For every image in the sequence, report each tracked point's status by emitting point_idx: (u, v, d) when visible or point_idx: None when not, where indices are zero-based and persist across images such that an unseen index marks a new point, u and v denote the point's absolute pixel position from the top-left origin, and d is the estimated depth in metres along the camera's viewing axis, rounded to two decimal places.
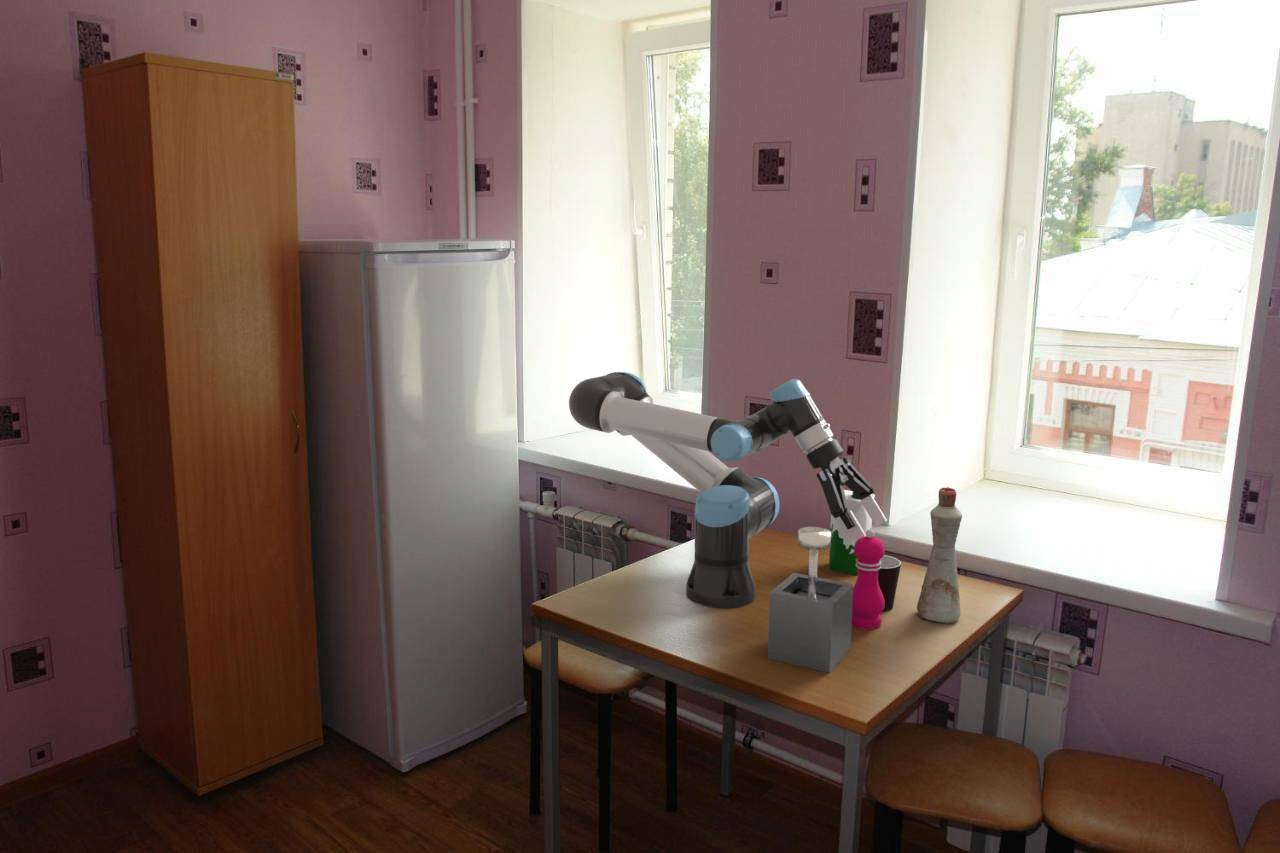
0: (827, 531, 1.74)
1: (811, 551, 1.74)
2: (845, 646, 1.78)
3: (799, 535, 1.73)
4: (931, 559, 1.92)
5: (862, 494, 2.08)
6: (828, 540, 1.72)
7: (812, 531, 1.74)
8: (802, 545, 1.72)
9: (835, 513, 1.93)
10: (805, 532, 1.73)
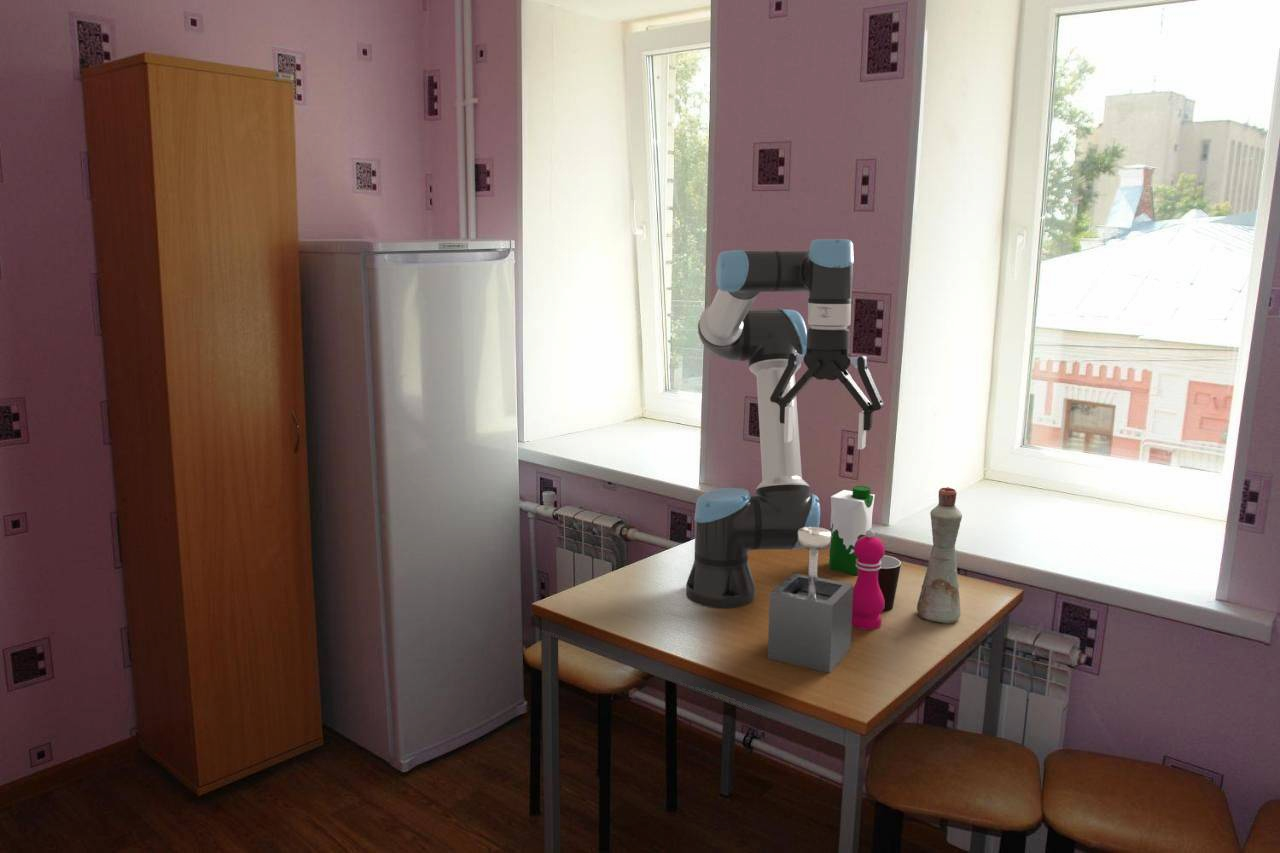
0: (827, 531, 1.74)
1: (811, 551, 1.74)
2: (845, 646, 1.78)
3: (799, 535, 1.73)
4: (931, 559, 1.92)
5: None
6: (828, 540, 1.72)
7: (812, 531, 1.74)
8: (802, 545, 1.72)
9: None
10: (805, 532, 1.73)
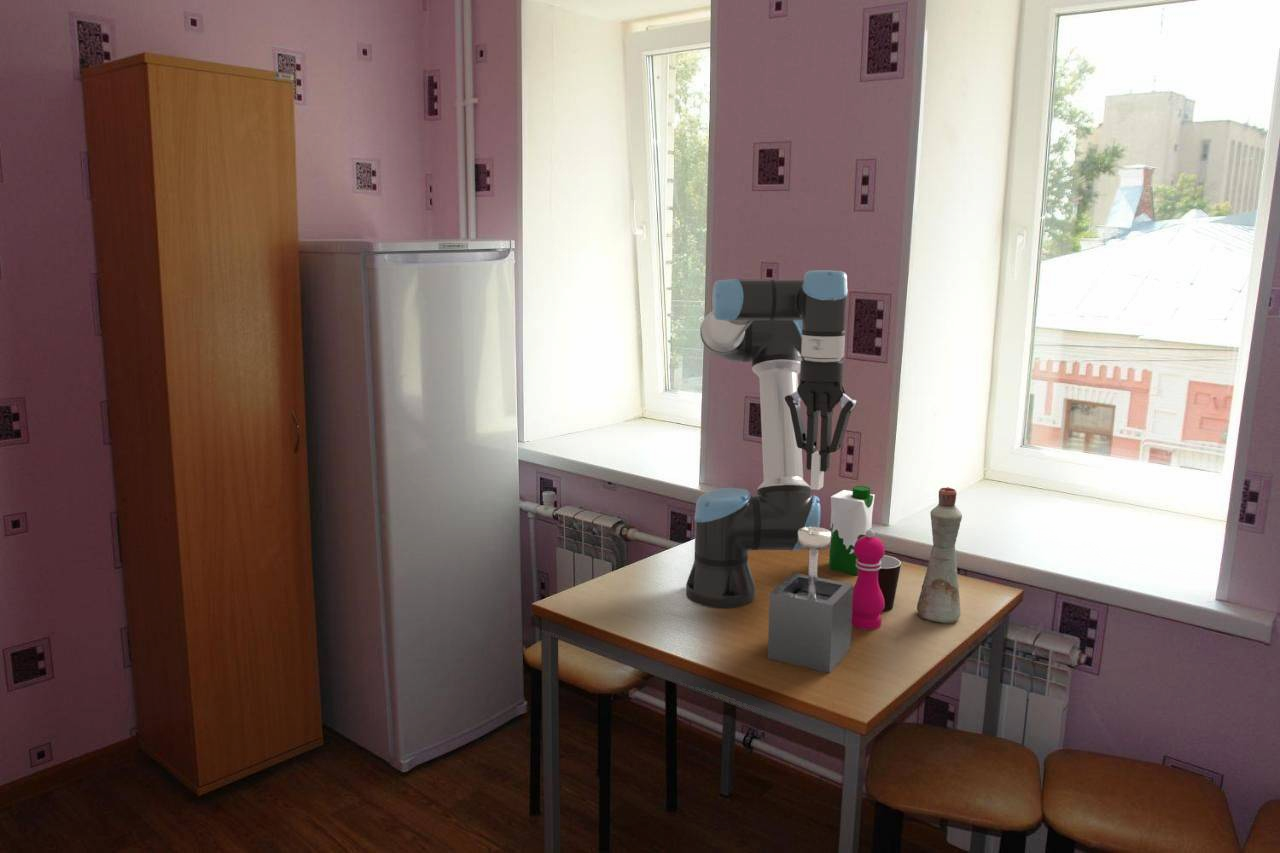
0: (827, 531, 1.74)
1: (811, 551, 1.74)
2: (845, 646, 1.78)
3: (799, 535, 1.73)
4: (931, 559, 1.92)
5: None
6: (828, 540, 1.72)
7: (812, 531, 1.74)
8: (802, 545, 1.72)
9: None
10: (805, 532, 1.73)
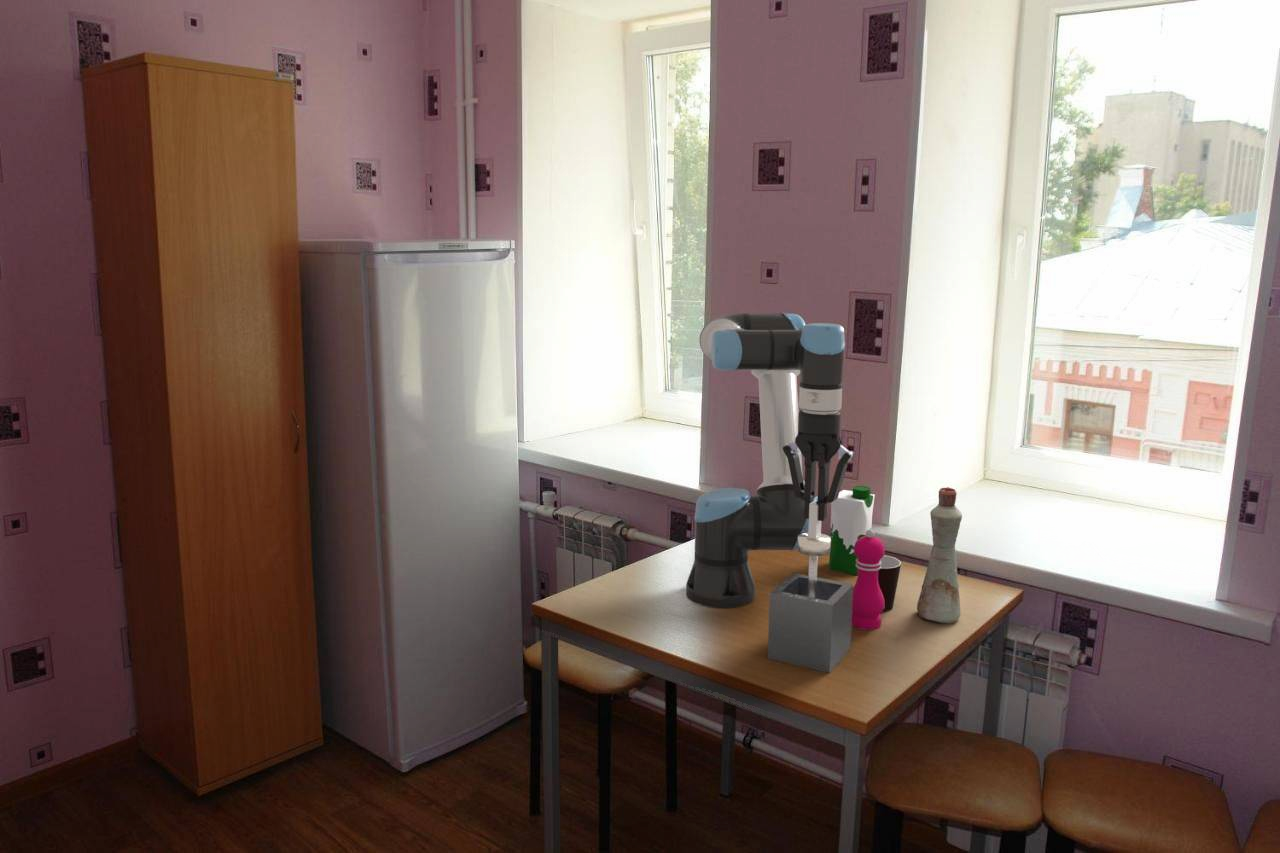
0: (827, 537, 1.74)
1: (811, 557, 1.74)
2: (845, 646, 1.78)
3: (799, 541, 1.73)
4: (931, 559, 1.92)
5: None
6: (828, 546, 1.72)
7: None
8: (802, 551, 1.73)
9: None
10: (804, 538, 1.73)
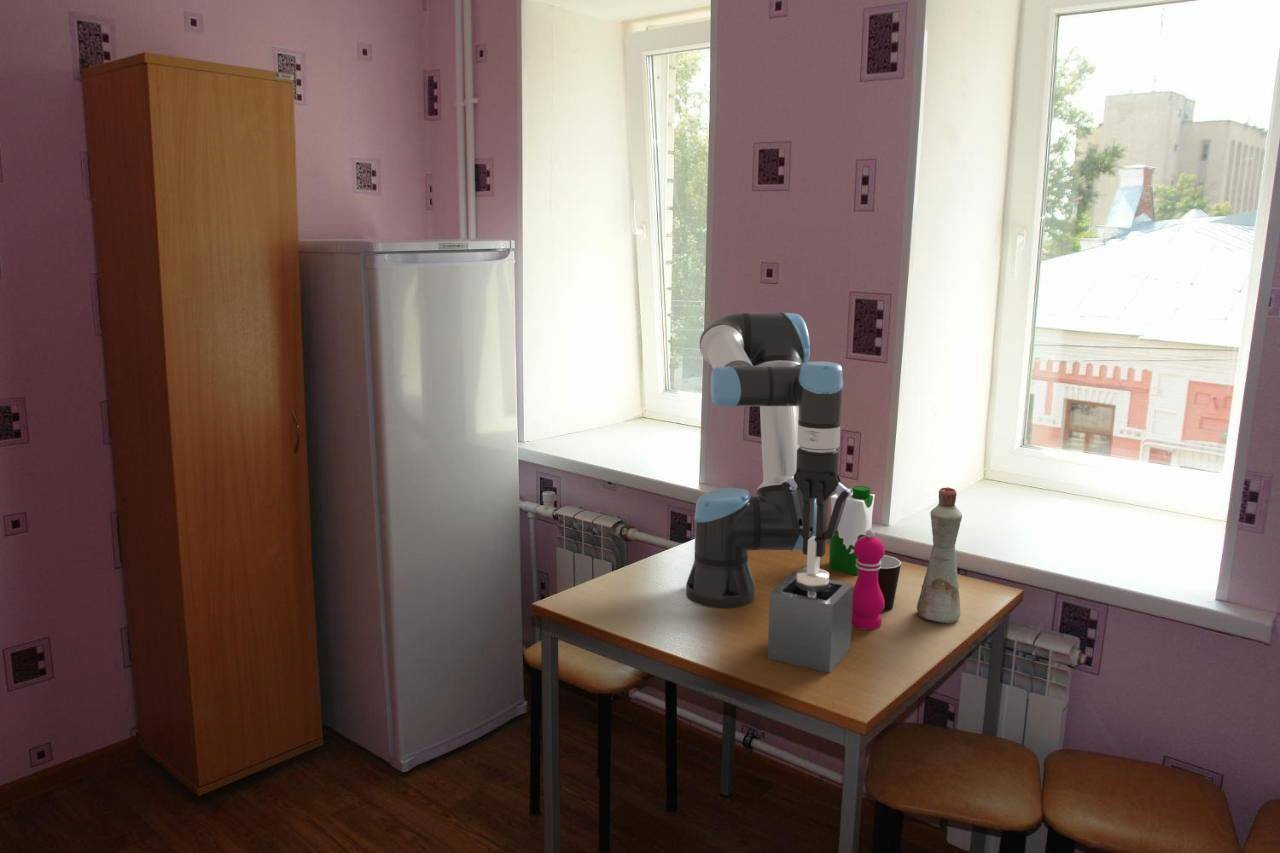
0: (825, 572, 1.75)
1: (809, 592, 1.75)
2: (845, 646, 1.78)
3: (797, 576, 1.75)
4: (931, 559, 1.92)
5: None
6: (826, 582, 1.74)
7: None
8: (800, 586, 1.74)
9: None
10: (803, 574, 1.75)
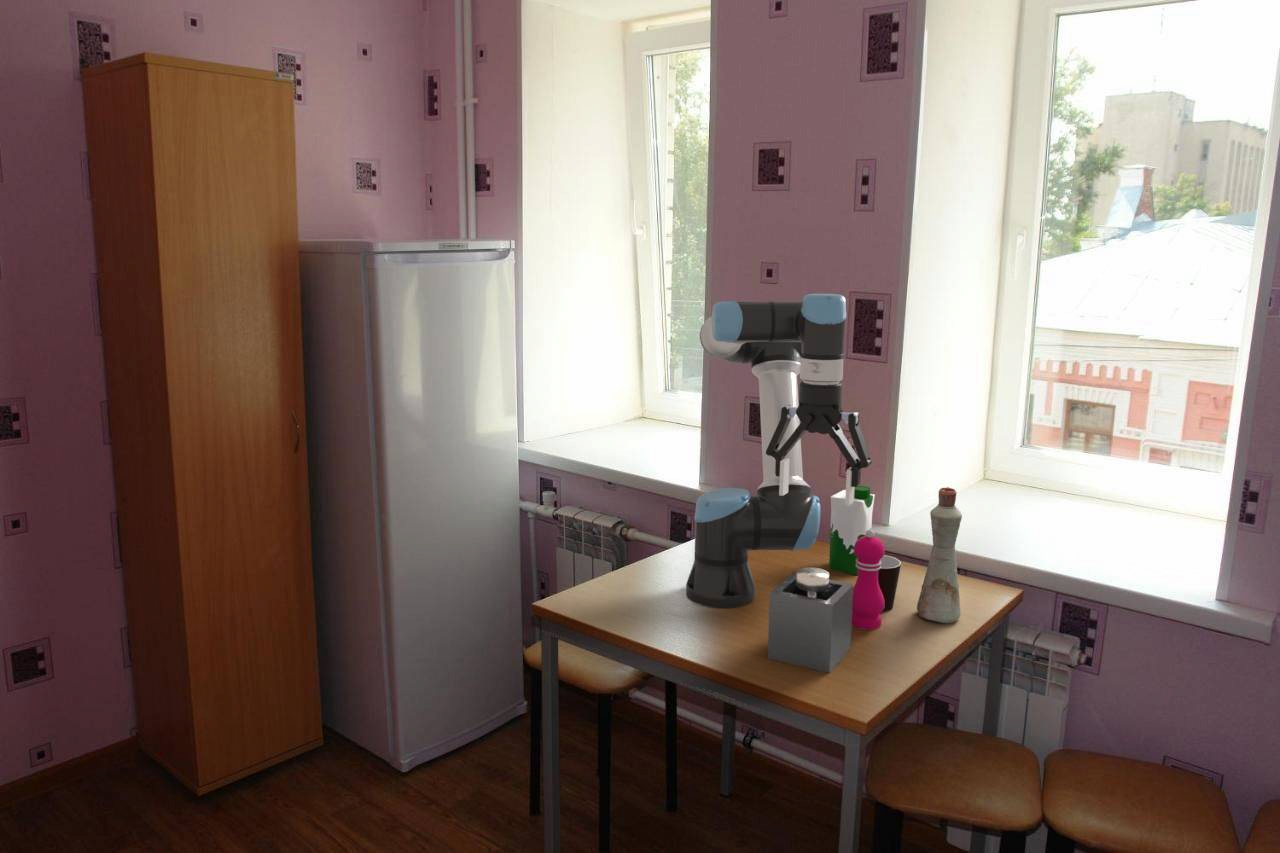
0: (825, 572, 1.75)
1: (809, 592, 1.75)
2: (845, 646, 1.78)
3: (797, 576, 1.75)
4: (931, 559, 1.92)
5: None
6: (826, 582, 1.74)
7: (810, 573, 1.75)
8: (800, 586, 1.74)
9: None
10: (803, 574, 1.75)
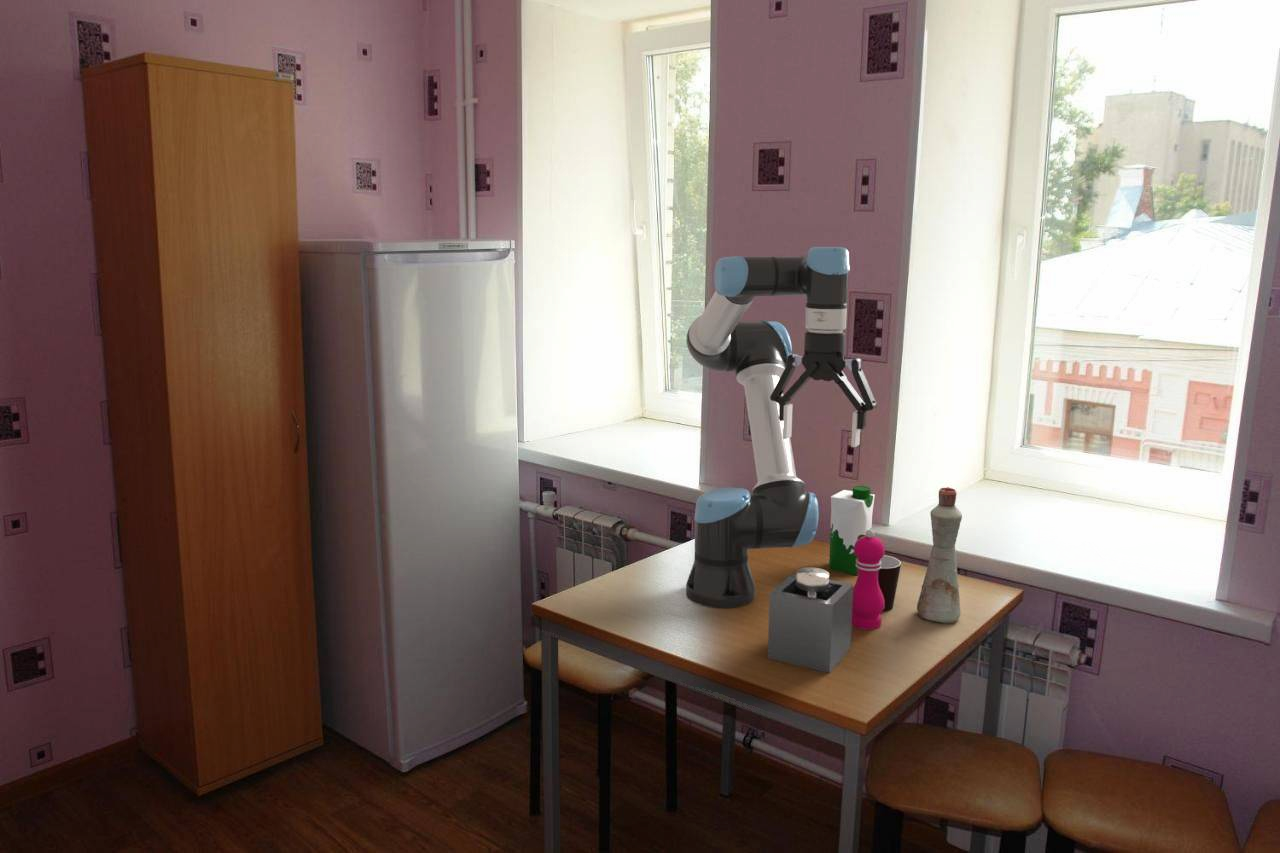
0: (825, 572, 1.75)
1: (809, 592, 1.75)
2: (845, 646, 1.78)
3: (797, 576, 1.75)
4: (931, 559, 1.92)
5: None
6: (826, 582, 1.74)
7: (810, 573, 1.75)
8: (800, 586, 1.74)
9: None
10: (803, 574, 1.75)
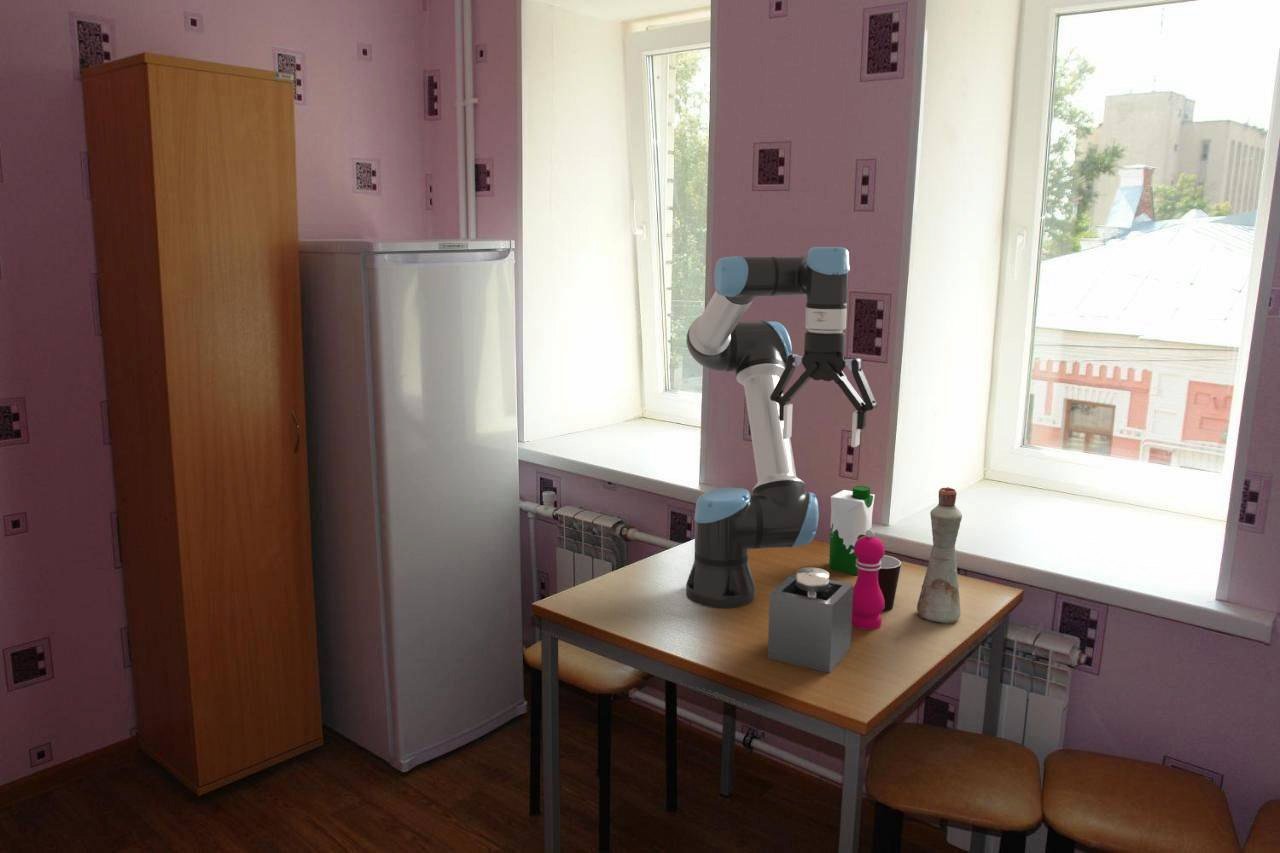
0: (825, 572, 1.75)
1: (809, 592, 1.75)
2: (845, 646, 1.78)
3: (797, 576, 1.75)
4: (931, 559, 1.92)
5: None
6: (826, 582, 1.74)
7: (810, 573, 1.75)
8: (800, 586, 1.74)
9: None
10: (803, 574, 1.75)
